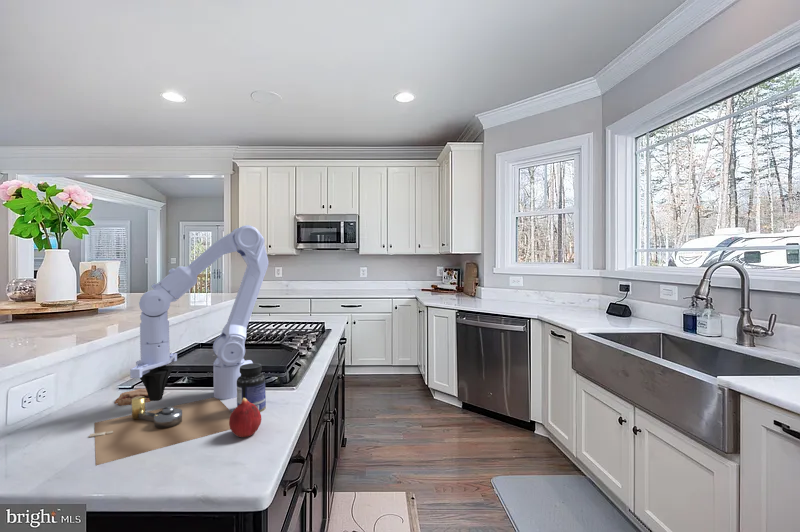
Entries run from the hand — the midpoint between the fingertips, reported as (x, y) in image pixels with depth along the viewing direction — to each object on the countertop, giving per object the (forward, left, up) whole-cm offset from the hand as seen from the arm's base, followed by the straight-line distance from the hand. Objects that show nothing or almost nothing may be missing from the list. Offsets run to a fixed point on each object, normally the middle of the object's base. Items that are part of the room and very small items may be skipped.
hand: (156, 399), depth 90 cm
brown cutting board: (-1, +13, -3) cm, 13 cm away
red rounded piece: (-12, +28, -3) cm, 30 cm away
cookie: (+2, -10, -3) cm, 11 cm away
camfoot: (+1, +9, -1) cm, 10 cm away
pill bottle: (-17, +16, -3) cm, 23 cm away
